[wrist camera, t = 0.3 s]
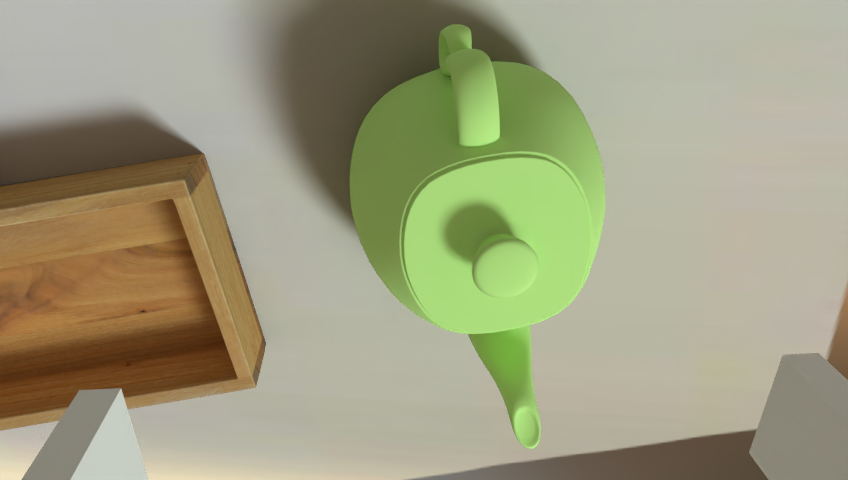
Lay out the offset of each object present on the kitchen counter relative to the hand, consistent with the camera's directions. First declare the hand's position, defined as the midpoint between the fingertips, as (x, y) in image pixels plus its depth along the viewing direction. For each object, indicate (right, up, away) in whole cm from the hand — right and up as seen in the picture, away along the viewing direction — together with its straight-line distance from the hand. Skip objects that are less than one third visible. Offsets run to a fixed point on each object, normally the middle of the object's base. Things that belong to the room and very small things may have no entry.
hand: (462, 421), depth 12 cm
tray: (-29, +1, +29) cm, 41 cm away
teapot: (+2, +7, +28) cm, 29 cm away
